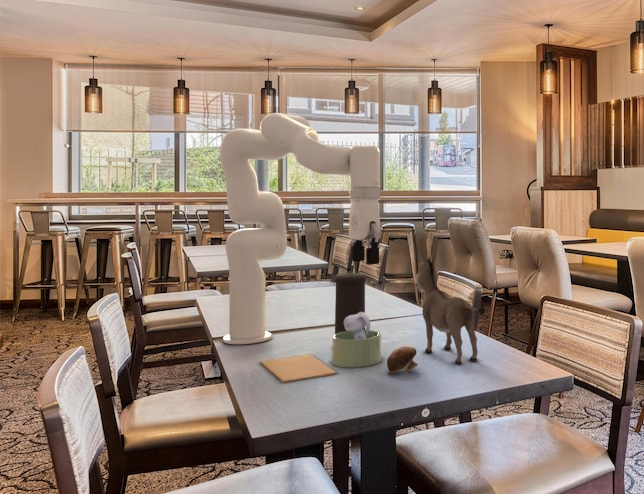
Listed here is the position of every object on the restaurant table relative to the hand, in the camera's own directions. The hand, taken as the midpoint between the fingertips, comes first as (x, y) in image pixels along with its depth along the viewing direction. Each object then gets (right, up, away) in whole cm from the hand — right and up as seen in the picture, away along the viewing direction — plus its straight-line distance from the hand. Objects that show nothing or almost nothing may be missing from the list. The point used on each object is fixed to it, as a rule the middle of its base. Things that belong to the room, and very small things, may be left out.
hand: (365, 262), depth 157 cm
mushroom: (+11, -24, -12) cm, 29 cm away
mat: (-14, -24, -9) cm, 29 cm away
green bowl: (-2, -24, -3) cm, 24 cm away
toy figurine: (-2, -24, -3) cm, 24 cm away
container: (-7, -25, +12) cm, 28 cm away
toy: (+21, -24, +3) cm, 32 cm away
